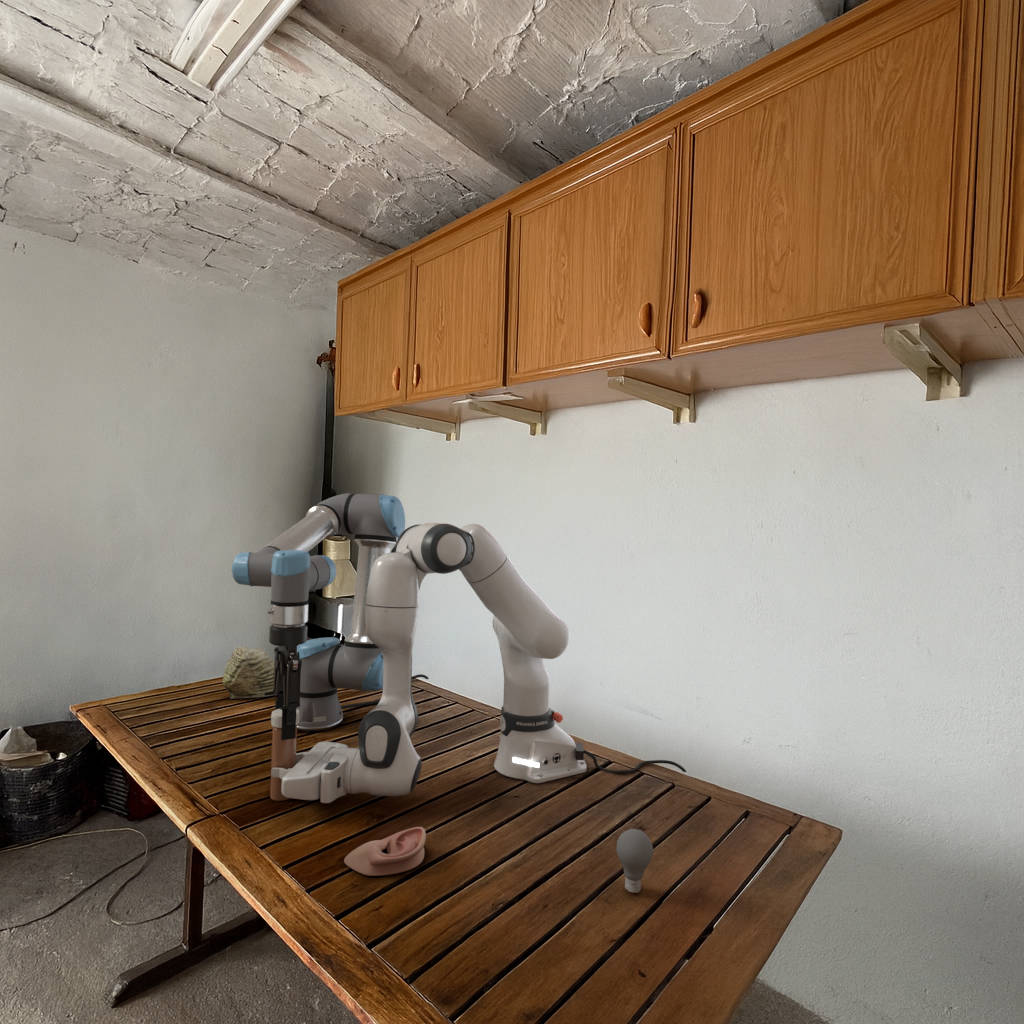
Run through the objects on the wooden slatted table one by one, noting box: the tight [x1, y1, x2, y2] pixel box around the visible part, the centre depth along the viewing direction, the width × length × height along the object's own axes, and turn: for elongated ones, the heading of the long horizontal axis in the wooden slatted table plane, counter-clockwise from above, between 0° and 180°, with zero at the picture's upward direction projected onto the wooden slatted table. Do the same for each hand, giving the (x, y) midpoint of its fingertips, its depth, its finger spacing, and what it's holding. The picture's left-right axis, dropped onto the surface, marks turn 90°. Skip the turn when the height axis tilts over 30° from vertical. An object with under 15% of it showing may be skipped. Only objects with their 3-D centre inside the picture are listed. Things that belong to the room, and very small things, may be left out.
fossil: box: [222, 646, 275, 699], centre depth 198 cm, size 9×18×15 cm, turn 132°
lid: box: [270, 709, 299, 728], centre depth 133 cm, size 6×6×2 cm
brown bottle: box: [269, 725, 298, 802], centre depth 134 cm, size 5×5×17 cm
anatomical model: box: [343, 826, 427, 877], centre depth 112 cm, size 13×4×12 cm
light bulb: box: [615, 828, 654, 894], centre depth 106 cm, size 6×6×10 cm
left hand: (284, 733), depth 133 cm, fingers closed on lid, 5 cm apart
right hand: (279, 764), depth 134 cm, fingers closed on brown bottle, 5 cm apart
